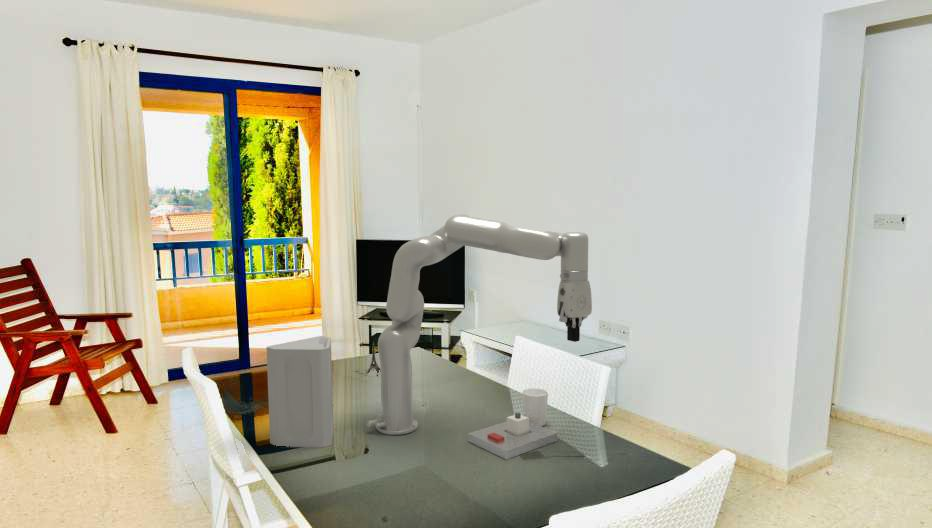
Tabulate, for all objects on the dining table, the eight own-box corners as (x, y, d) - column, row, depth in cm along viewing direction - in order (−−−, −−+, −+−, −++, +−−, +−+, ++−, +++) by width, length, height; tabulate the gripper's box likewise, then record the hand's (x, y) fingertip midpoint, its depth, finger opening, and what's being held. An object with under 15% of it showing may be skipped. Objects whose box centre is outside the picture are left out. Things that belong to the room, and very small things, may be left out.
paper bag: (298, 456, 162) (294, 355, 159) (268, 442, 172) (265, 346, 169) (354, 436, 176) (352, 342, 174) (324, 424, 186) (321, 335, 183)
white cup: (546, 428, 181) (547, 396, 181) (520, 427, 183) (520, 395, 182) (548, 419, 189) (548, 388, 188) (523, 418, 191) (523, 387, 190)
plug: (517, 442, 170) (517, 417, 169) (506, 437, 174) (506, 413, 173) (528, 438, 173) (529, 413, 172) (518, 433, 176) (518, 409, 176)
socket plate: (506, 459, 160) (506, 447, 159) (468, 441, 172) (468, 430, 172) (557, 440, 172) (557, 430, 172) (518, 425, 185) (518, 415, 184)
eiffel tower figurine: (351, 372, 246) (351, 340, 245) (371, 367, 253) (371, 336, 252) (373, 379, 236) (372, 346, 234) (393, 374, 243) (393, 341, 242)
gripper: (566, 279, 161) (565, 347, 163) (601, 275, 170) (600, 339, 172) (545, 277, 167) (545, 342, 168) (581, 273, 176) (580, 334, 178)
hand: (573, 340), depth 170 cm, fingers closed
